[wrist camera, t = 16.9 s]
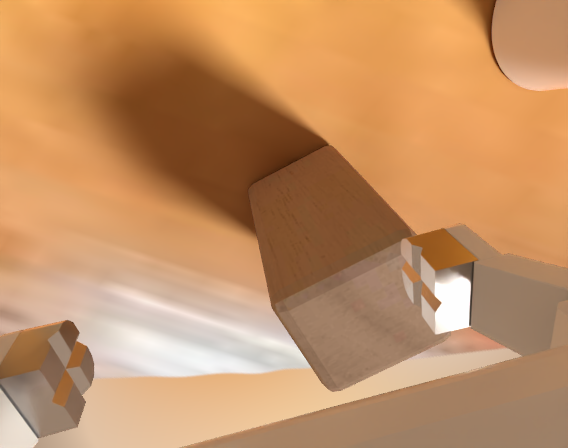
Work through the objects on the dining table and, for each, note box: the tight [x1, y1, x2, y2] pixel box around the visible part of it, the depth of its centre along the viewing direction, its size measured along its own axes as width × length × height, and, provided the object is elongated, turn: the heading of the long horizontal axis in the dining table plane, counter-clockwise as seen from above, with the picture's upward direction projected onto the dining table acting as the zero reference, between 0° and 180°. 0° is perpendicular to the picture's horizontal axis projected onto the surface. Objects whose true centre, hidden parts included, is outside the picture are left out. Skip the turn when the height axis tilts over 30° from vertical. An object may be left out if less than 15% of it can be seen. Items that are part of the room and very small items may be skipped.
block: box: [248, 146, 451, 392], centre depth 35 cm, size 10×10×20 cm
